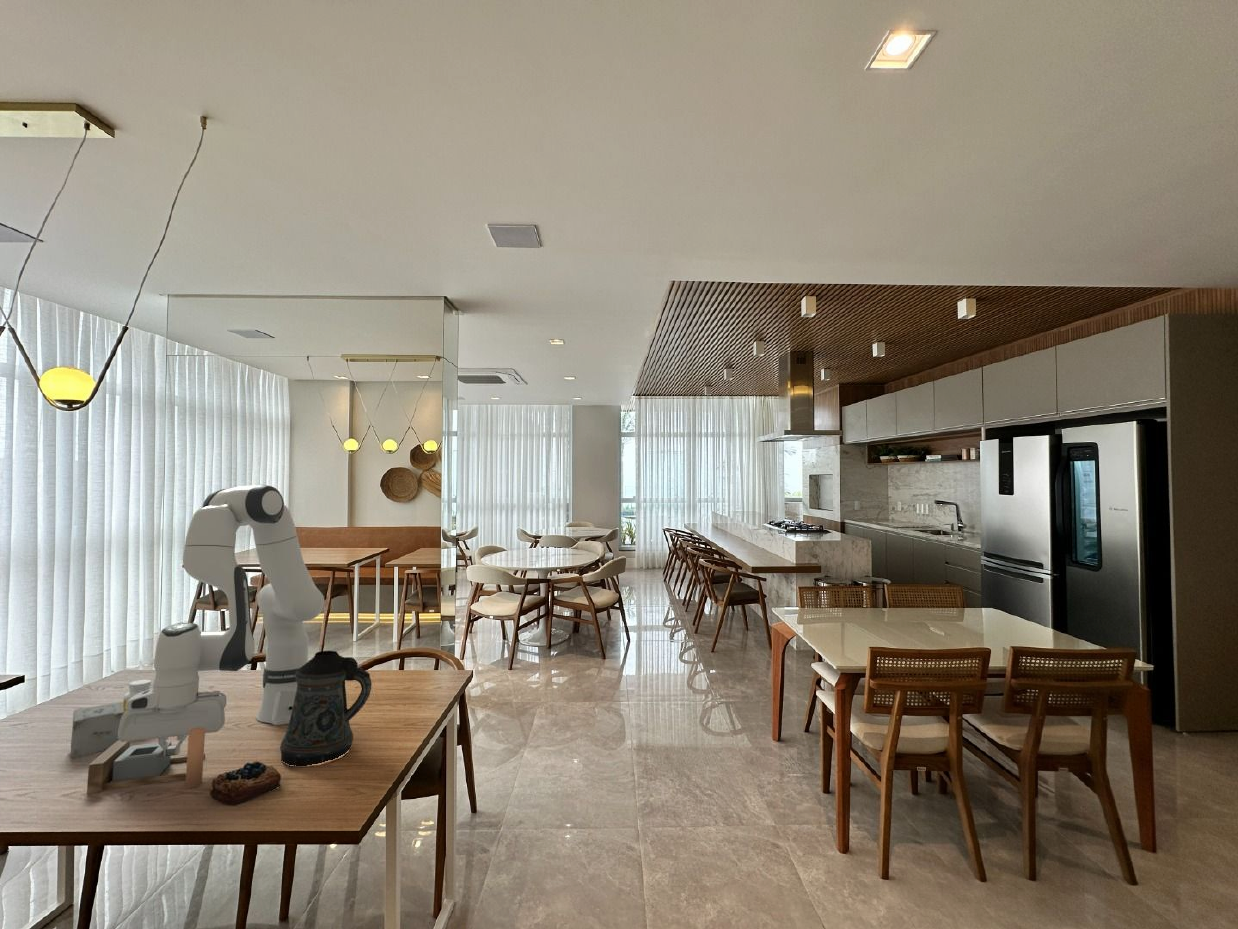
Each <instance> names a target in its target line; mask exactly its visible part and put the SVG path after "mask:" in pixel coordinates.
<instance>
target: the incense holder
mask: <svg viewBox="0 0 1238 929" xmlns="http://www.w3.org/2000/svg"><path fill="white" fill-rule="evenodd" d="M123 714H124V708H123V701H119V702H118V701H117V702H114V703H113V702H112V703H108V704H102V705H100V704H99V705H96V706H90V707H89V706H88V707H81V708H77V709H76V708H75V709H74V711H73V713H72V715H73V717H72V730H71V739H70V753H69V754H70V755H69V759H76V758H79V757H80V758H81V757H82V756H84V755H90V754H95V753H99V752H104V751H106V750H107V749H108V748H109V747H110V746H112V745H113V744H114V743H115V742H116V741H118V740H119V739H118V730H119V724H120V720H121V717H122V715H123Z"/></svg>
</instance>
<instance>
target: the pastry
mask: <svg viewBox="0 0 1238 929" xmlns="http://www.w3.org/2000/svg"><path fill="white" fill-rule="evenodd" d="M281 780H282V774H281V773H280V772H279V771H278V770H277V769H276V768H275V767H274V766H273V765H266V764H264V763H263V762H259V761H253V762H246V763H245V764H244V765H243V767H240V768H237V769H234V770H233V769H232V770H230V771H225V772H224V773H219V774H218V775H217V776H216V777H215V778H213V780H212V783H211V785H212V786H211V788H212V789H211V790H210V791H209V794H210V796H211V798H213V799H214V800H215V801H217V802H219V803H221V804H223V805H227V806H232V807H234V806H238V805H240V804H243V803H246V802H249V801H251V800H254V799H255V798H256V799H257V798H258V796H259V797H260V795H261V796H264V795H263V794H265V793H266V794H268V793H270V792H269V791H271V792H273V791H275V790H277V789H278V788H277V787H279V786H280V787H281ZM280 787H279V788H280ZM276 788H277V789H276ZM274 789H275V790H274ZM272 790H273V791H272ZM267 792H268V793H267ZM266 794H265V795H266ZM253 798H254V799H253Z"/></svg>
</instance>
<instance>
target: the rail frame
mask: <svg viewBox="0 0 1238 929" xmlns="http://www.w3.org/2000/svg"><path fill="white" fill-rule="evenodd" d="M130 746H131V741H127V742H121V741H120V740H118V741H116V742H115V743H114V744H113V745H112V746H110V747H109V748H108V749H107V750H104V751H102V753H101V754H100V755H99V756H98V757H96V758H95V759H94V760H92V762H90V763H89V764H88V772H87V783H86V784H87V787H86V794H93V793H100V792H101V793H102V791H104V790H109V789H117V788H126V787H133V786H141V785H148V784H157V783H164V782H172V781H173V782H174V781H181V780H186V772H181V773H174V774H165V775H159V776H156V777H148V778H140V779H132V780H124V781H116V782H112V779H113V765H114V761H115V760H116V759H117V758H118V757H119V756H120V755H122V754H123V753H124V752H125V751H126V750H127V749H128V748H129V747H130ZM205 758H206V753H205V752H204V758H203V760H204V759H205ZM181 762H182V763H183V762H187V755H175V756H171V758H170V764H173V763H181Z"/></svg>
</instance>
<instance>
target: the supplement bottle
mask: <svg viewBox="0 0 1238 929" xmlns="http://www.w3.org/2000/svg"><path fill="white" fill-rule="evenodd" d="M128 685H129V686H128V688H129V691H128V692H127V693H125V695H124V696H123V701H122V702H123V708H124V713H125V712H126V711H127V709H126V702H127V701H128V700H129V699H130V698H132V697H133V696H135V695H136V694H138V693H140V692H143V691H146V690H149V689H151V688H150V687H151V686H152V680H151V679H138V680H133V681H131V682H130V683H129V684H128Z"/></svg>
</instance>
